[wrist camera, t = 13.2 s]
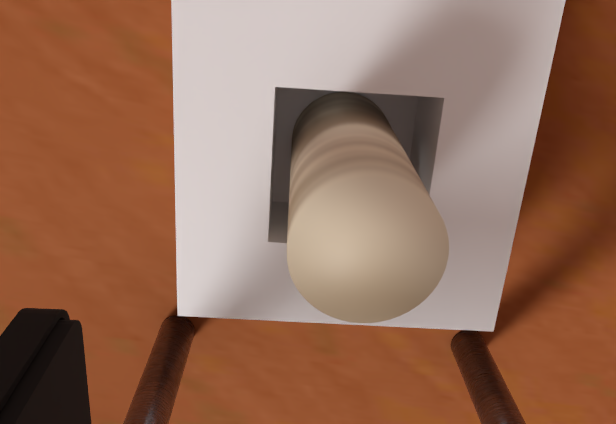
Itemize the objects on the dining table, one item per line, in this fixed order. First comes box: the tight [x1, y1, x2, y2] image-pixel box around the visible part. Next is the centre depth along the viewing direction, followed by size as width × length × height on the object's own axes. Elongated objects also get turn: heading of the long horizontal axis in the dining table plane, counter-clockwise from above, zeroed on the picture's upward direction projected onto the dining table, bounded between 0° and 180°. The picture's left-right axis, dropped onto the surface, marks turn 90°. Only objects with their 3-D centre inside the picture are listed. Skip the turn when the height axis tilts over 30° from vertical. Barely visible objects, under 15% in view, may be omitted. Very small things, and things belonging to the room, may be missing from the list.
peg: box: [287, 92, 449, 323], centre depth 19 cm, size 4×4×10 cm
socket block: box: [171, 0, 566, 332], centre depth 22 cm, size 12×12×5 cm
